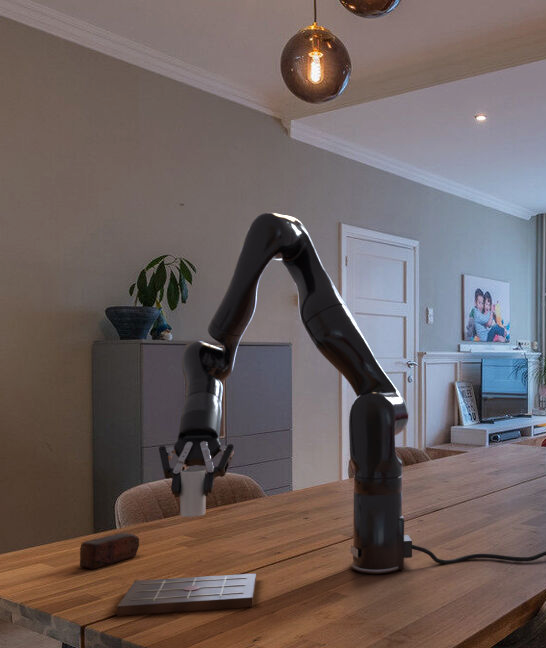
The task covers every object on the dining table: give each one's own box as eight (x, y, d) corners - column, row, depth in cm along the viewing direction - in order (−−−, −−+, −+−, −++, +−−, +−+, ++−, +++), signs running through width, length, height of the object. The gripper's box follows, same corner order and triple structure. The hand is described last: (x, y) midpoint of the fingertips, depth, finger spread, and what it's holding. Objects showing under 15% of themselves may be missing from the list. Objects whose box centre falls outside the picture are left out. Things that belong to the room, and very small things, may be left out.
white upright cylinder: (206, 511, 135) (207, 468, 135) (204, 516, 131) (204, 471, 131) (182, 512, 134) (182, 469, 134) (178, 517, 130) (178, 472, 130)
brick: (94, 570, 134) (95, 544, 135) (79, 567, 136) (79, 542, 136) (139, 556, 144) (140, 532, 144) (124, 553, 146) (125, 530, 146)
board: (256, 582, 128) (256, 572, 128) (252, 607, 115) (252, 596, 115) (134, 589, 124) (134, 579, 124) (116, 616, 111) (117, 605, 111)
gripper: (160, 409, 139) (146, 483, 127) (237, 407, 142) (231, 480, 130) (164, 434, 144) (152, 508, 132) (239, 432, 147) (234, 504, 135)
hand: (191, 493), depth 131 cm, fingers closed on white upright cylinder, 4 cm apart
